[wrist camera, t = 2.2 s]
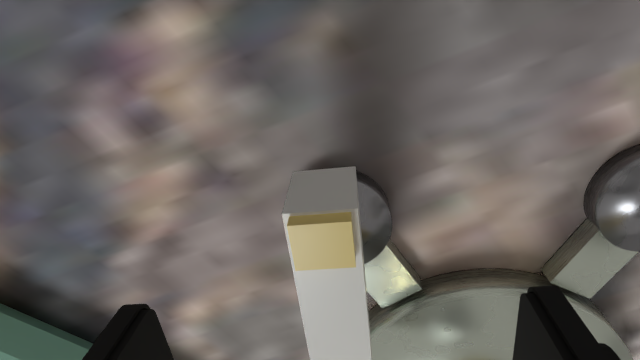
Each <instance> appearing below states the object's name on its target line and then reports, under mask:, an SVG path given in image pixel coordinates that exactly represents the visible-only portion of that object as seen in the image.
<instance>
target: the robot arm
mask: <svg viewBox="0 0 640 360" xmlns="http://www.w3.org/2000/svg"><path fill="white" fill-rule="evenodd" d="M82 360H174V359H173V356H172V354H171V351H170V348H169V346H168V343H167V341H166V338H165V336H164V333H163V330H162V328H161V325H160V323H159V320H158V317H157V315H156V312H155V311H154V310H153V309H150V307H149V306H148V305H147V304H132V305H124V306H122V307H121V308H120V309H119V310H118V311H117V313H116V314H115V315H114V317H113V318H112V319H111V321H110V322H109V324H108V325H107V326H106V328H105V329H104V330H103V332H102V333H101V334H100V336H99V337H98V338H97V340H96V341H95V343H94V344H93V345H92V347H91V348H90V349H89V351H88V352H87V353H86V355H85V356H84V357H83V359H82ZM513 360H621V359H620V358H619V357H618V355H617V354H616V353H615V352H614V351H613V349H612V348H611V347H609V346H608V345H606V344H604V343H598V342H597V340H596V339H595V338H594V336H593V335H592V333H591V332H590V331H589V329H588V328H587V326H586V325H585V324H584V322H583V321H582V319H581V318H580V317H579V315H578V314H577V312H576V311H575V310H574V308H573V307H572V305H571V304H570V303H569V301H568V300H567V298H566V297H565V296H564V294H563V293H562V291H561V290H560V289H559V288H558V287H557V286H534V287H529V288H528V291H527V293H522V294H521V296H520V302H519V310H518V318H517V327H516V335H515V343H514V351H513Z"/></svg>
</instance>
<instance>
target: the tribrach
mask: <svg viewBox="0 0 640 360" xmlns="http://www.w3.org/2000/svg"><path fill="white" fill-rule="evenodd" d="M356 177H357V188H358V200H359V211H360V222H361V233H362V244H363V256H364V267H365V278H366V289H367V292H368V293H369V294H370V295H371V296H372V297H373V298H374V299H375V301H376V302H377V303H378V304H377V305H376V306H374V307H373V308H372V309H371V310H370V311H369V323H370V334H371V346H372V359H373V360H513V351H514V343H515V335H516V327H517V318H518V310H519V302H520V296H521V294H522V293H527V291H528V288H529V287H534V286H557V287H558V288H559V289H560V290H561V291H562V293H563V294H564V296H565V297H566V298H567V300H568V301H569V303H570V304H571V305H572V307H573V308H574V310H575V311H576V312H577V314H578V315H579V317H580V318H581V319H582V321H583V322H584V324H585V325H586V326H587V328H588V329H589V331H590V332H591V333H592V335H593V336H594V338H595V339H596V340H597V342H598V343H604V344H606V345H608V346H609V347H611V348H612V349H613V351H614V352H615V353H616V354H617V355H618V357H619V358H620V359H621V360H633V359H632V356H631V354H630V352H629V350H628V348H627V347H626V345H625V344H624V342H623V341H622V340H621V338H620V337H619V336H618V334H617V333H616V332H615V330H614V329H613V328H612V327H611V325H610V324H609V323H608V321H607V320H606V319H605V317H604V316H603V315H602V314H601V312H600V311H599V310H598V308H597V307H596V306H595V305H594V304H593V303H592V302H591V301H590V300H588V299H587V298H589V299H590V298H591V297H592V296H593V295H594V294H596V293H597V292H598V291H599V290H600V289H601V288H602V287H603V286H604V285H605V284H606V283H607V282H608V281H609V280H610V279H611V278H612V277H613V276H614V275H615V274H616V273H617V272H618V271H619V270H620V269H621V268H622V267H623V266H624V265H625V264H626V263H627V262H629V261H630V260H631V259H632V258H633V257H634V256H635V255H636V254H637V253H638V252H640V144H639V145H637V146H634V147H631V148H629V149H627V150H625V151H623V152H621V153H619V154H617V155H616V156H614V157H613V158H612V159H610V160H609V161H608V162H606V163H605V164H604V165H603V166H602V167H601V168H600V169H599V170H598V171H597V173H596V174H595V175H594V176H593V178H592V179H591V181H590V183H589V185H588V187H587V189H586V192H585V196H584V210H585V214H586V216H587V219H586V220H585V221H584V222H583V224H582V225H581V226H580V227H579V228H578V229H577V230H576V231H575V232H574V234H573V235H572V236H571V237H570V238H569V239H568V240H567V241H566V242H565V243H564V245H563V246H562V247H561V248H560V249H559V250H558V251H557V252H556V253H555V255H554V256H553V257H552V258H551V259H550V260H549V261H548V262H547V263H546V265H545V266H544V267H543V268H542V269H541V270H542V272H543V273H544V274H545V276H546V277H545V276H542V275H539V274H534V273H529V272H524V271H518V270H508V269H473V270H464V271H457V272H452V273H447V274H442V275H438V276H434V277H431V278H428V279H425V280H422V281H420V278H419V276H418V274H417V273H416V272H415V271H414V269H413V268H412V267H411V266H410V264H409V263H408V262H407V261H406V259H405V258H404V257H403V256H402V254H401V253H400V252H399V251H398V249H397V248H396V247H395V246H394V244H393V243H392V242H391V241H390V236H391V232H392V219H391V214H390V209H389V204H388V200H387V198H386V195H385V193H384V192H383V190H382V189H381V188H380V186H379V185H378V184H377V183H376V182H375V181H373V180H372V179H371V178H369V177H368V176H366V175H364V174H362V173H360V172H357V171H356ZM586 297H587V298H586Z"/></svg>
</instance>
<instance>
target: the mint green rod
mask: <svg viewBox="0 0 640 360" xmlns="http://www.w3.org/2000/svg"><path fill="white" fill-rule="evenodd" d="M92 345H93V343H90V342H88V341H86V340H84V339H81V338H79V337H77V336H74V335H72V334H70V333H67V332H65V331H63V330H61V329H58V328H56V327H54V326H51V325H49V324H47V323H44V322H42V321H40V320H38V319H35V318H33V317H31V316H28V315H26V314H24V313H21V312H19V311H17V310H15V309H12V308H10V307H8V306H5V305H3V304H1V303H0V360H82V359H83V357H84V356H85V355H86V353H87V352H88V351H89V349H90V348H91V347H92Z"/></svg>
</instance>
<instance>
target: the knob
mask: <svg viewBox="0 0 640 360" xmlns="http://www.w3.org/2000/svg"><path fill="white" fill-rule="evenodd" d="M282 218H283V223H284V228H285V233H286V238H287V243H288V248H289V254H290V259H291V264H292V269H293V274H294V279H295V284H296V290H297V295H298V300H299V305H300V310H301V315H302V320H303V326H304V331H305V336H306V341H307V346H308V351H309V356H310V360H373V359H372V346H371V334H370V323H369V312H368V301H367V289H366V278H365V267H364V256H363V244H362V233H361V222H360V211H359V200H358V188H357V177H356V166H353V167H342V168H330V169H318V170H307V171H295V172H293V174H292V178H291V182H290V185H289V189H288V193H287V196H286V200H285V204H284V208H283V211H282Z"/></svg>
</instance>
